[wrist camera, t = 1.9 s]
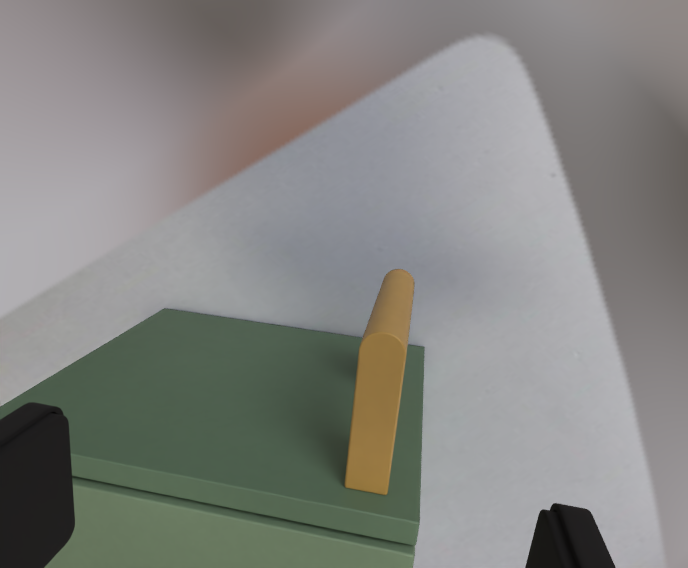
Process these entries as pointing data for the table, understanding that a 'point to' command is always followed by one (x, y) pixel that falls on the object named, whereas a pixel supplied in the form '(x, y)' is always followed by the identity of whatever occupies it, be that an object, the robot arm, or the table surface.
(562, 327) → the table surface
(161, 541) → the cupboard
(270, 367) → the cupboard door
